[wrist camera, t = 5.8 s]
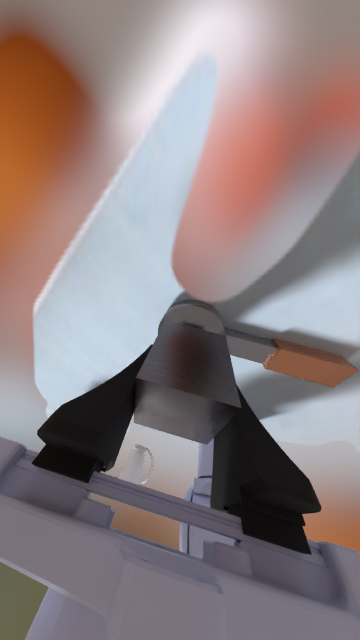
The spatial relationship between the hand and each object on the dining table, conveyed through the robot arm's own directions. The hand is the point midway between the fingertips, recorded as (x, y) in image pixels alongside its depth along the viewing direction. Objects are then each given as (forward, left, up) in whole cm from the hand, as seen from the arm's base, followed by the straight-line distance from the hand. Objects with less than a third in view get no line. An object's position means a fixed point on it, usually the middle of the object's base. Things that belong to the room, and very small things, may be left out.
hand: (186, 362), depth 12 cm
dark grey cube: (0, 0, -2) cm, 2 cm away
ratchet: (-6, -3, -6) cm, 9 cm away
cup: (-22, +45, -6) cm, 50 cm away
